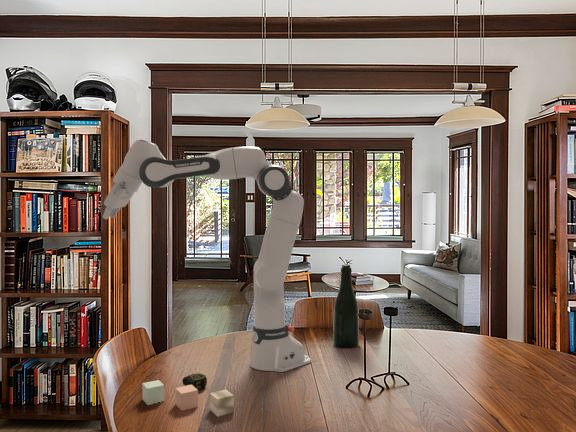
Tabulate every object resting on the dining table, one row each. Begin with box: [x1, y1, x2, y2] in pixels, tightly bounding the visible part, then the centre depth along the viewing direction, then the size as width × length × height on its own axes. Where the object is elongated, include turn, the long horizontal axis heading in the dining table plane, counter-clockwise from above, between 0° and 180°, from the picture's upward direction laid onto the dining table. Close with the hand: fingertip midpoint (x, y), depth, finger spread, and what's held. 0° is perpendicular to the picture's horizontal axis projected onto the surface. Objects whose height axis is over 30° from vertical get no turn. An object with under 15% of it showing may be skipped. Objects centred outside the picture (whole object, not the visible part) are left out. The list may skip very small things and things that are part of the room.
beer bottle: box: [332, 263, 360, 349], centre depth 202 cm, size 10×10×33 cm
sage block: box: [141, 379, 165, 406], centre depth 148 cm, size 5×5×5 cm
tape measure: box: [182, 372, 208, 390], centre depth 158 cm, size 7×7×4 cm
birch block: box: [209, 389, 235, 417], centre depth 141 cm, size 5×5×5 cm
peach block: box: [174, 385, 199, 412], centre depth 144 cm, size 5×5×5 cm
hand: (108, 217), depth 172 cm, fingers open, 8 cm apart
